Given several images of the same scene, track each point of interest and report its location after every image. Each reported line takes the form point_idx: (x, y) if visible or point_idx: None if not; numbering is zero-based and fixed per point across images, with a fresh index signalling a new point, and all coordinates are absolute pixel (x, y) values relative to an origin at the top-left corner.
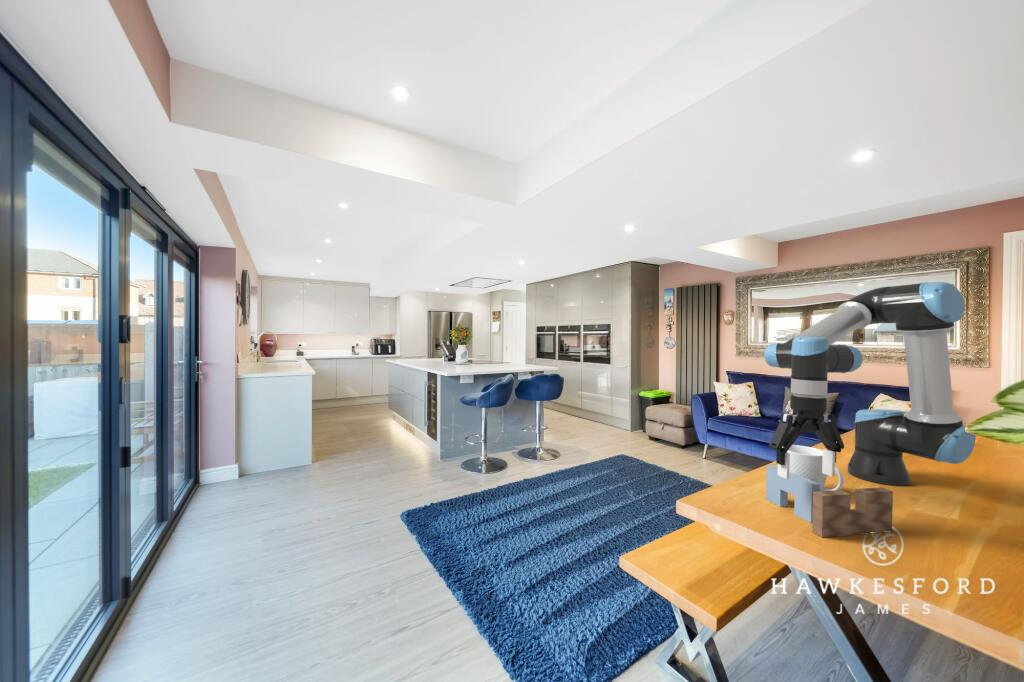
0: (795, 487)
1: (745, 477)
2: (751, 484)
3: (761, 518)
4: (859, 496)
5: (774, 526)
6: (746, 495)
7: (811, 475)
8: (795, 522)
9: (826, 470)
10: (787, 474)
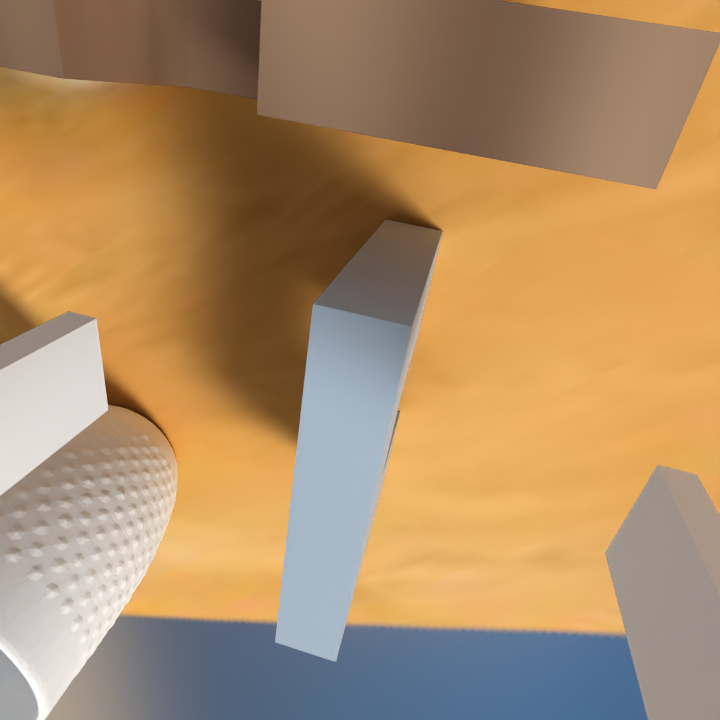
0: (393, 421)
1: (253, 616)
2: None
3: (665, 376)
4: (104, 35)
5: (715, 287)
6: (435, 539)
7: (69, 479)
8: (521, 272)
9: (69, 396)
10: (706, 512)
